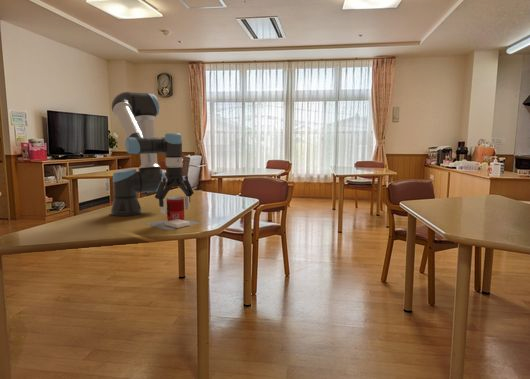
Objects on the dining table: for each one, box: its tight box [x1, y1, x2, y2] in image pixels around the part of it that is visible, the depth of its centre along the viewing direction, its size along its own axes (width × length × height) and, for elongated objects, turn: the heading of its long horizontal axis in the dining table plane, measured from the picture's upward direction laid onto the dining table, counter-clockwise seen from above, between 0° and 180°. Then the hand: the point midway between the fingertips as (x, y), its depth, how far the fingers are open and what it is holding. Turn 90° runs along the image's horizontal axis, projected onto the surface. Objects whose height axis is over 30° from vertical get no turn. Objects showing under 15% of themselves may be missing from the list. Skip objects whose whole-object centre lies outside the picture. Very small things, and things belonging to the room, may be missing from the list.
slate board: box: [146, 218, 201, 231], centre depth 168 cm, size 18×18×1 cm
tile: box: [165, 219, 190, 229], centre depth 165 cm, size 2×7×9 cm
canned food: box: [166, 195, 185, 221], centre depth 175 cm, size 8×8×11 cm
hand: (175, 211), depth 175 cm, fingers open, 13 cm apart
